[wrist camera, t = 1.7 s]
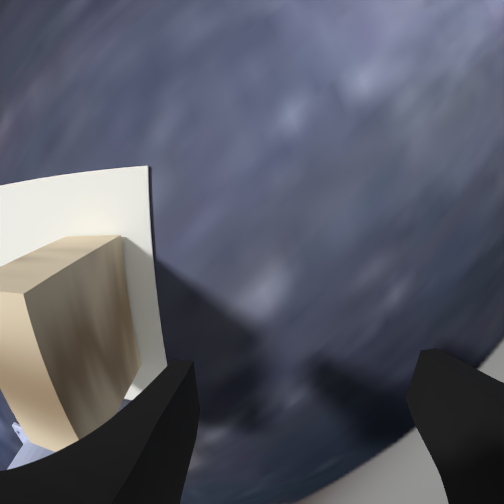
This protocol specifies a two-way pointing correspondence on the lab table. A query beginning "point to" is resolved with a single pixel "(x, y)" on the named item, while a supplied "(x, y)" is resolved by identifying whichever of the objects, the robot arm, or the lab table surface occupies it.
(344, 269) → the lab table surface
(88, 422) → the beech block
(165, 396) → the robot arm
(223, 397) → the lab table surface
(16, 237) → the mat
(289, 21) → the lab table surface
